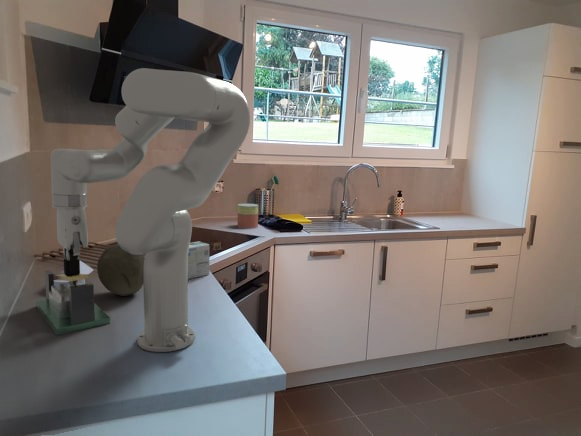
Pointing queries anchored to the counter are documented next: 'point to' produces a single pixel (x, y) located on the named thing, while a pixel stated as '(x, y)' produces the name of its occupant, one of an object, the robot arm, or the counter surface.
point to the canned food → (247, 216)
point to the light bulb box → (198, 259)
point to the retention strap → (70, 277)
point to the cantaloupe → (121, 271)
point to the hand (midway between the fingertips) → (72, 274)
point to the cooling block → (70, 306)
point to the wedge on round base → (83, 270)
